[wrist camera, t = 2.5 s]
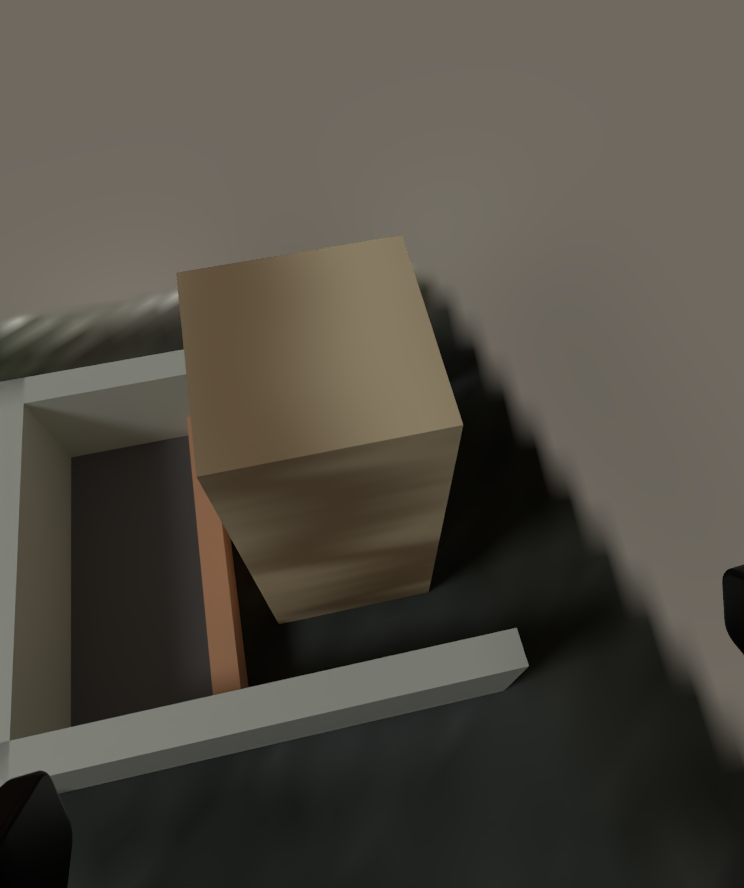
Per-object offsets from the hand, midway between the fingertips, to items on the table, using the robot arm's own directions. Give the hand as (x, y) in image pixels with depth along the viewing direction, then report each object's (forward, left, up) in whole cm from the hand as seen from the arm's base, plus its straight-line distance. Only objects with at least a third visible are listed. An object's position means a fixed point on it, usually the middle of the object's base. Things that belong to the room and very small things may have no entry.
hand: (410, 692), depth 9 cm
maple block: (0, -7, -13) cm, 15 cm away
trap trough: (+3, -7, -13) cm, 15 cm away
